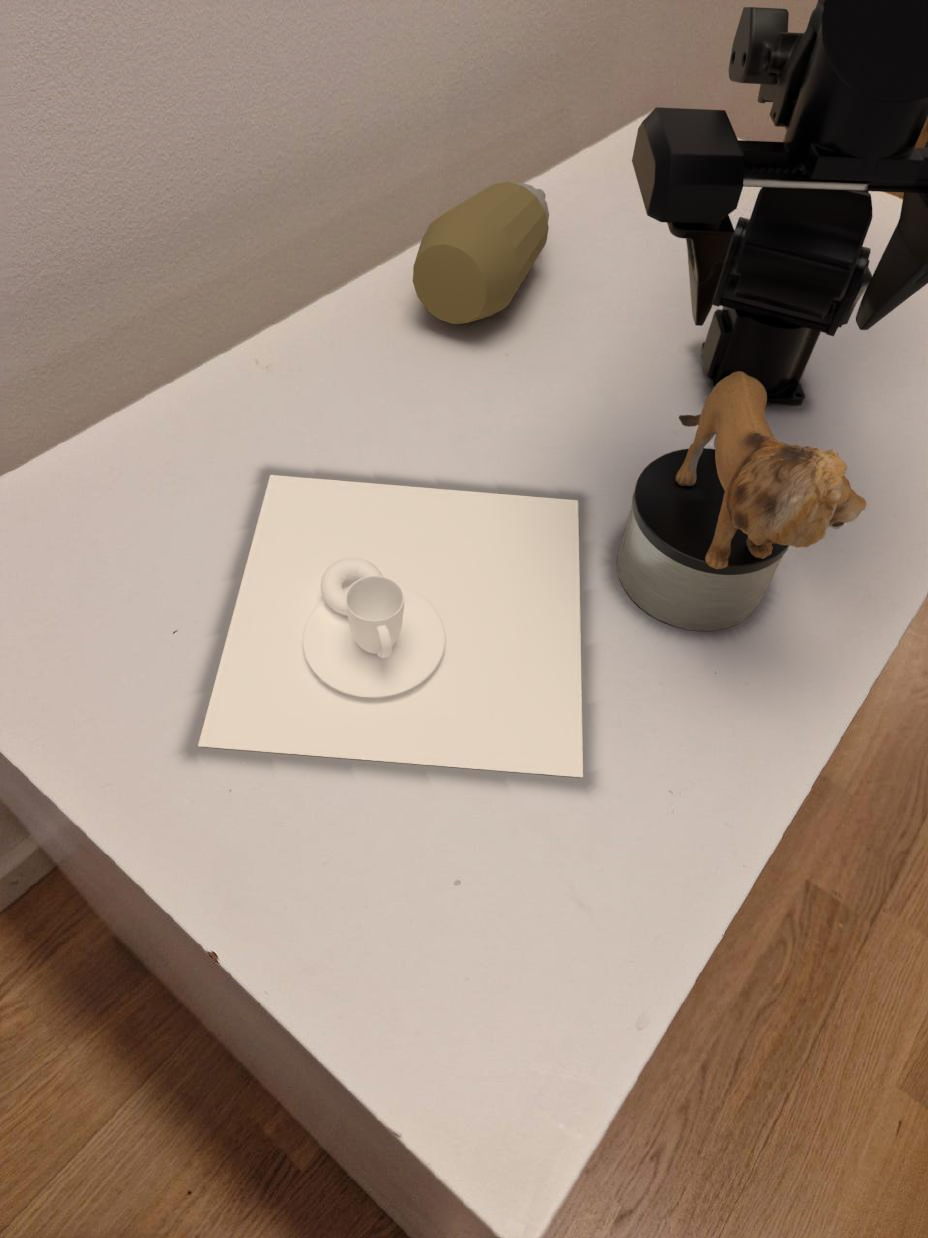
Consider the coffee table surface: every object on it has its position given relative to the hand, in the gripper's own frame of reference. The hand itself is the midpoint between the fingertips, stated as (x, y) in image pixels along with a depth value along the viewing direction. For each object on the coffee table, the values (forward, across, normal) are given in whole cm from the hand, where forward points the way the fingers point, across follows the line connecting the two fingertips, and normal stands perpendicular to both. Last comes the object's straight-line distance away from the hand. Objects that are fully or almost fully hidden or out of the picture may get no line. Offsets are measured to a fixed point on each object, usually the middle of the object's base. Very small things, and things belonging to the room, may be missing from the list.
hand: (779, 323), depth 51 cm
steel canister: (+13, +3, +7) cm, 15 cm away
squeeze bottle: (+9, +18, -16) cm, 25 cm away
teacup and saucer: (+13, +20, +10) cm, 26 cm away
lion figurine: (+7, +2, +8) cm, 11 cm away
